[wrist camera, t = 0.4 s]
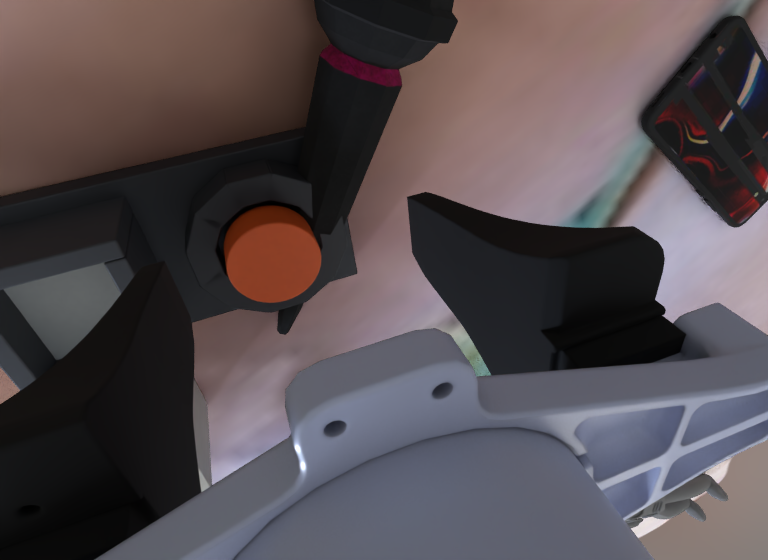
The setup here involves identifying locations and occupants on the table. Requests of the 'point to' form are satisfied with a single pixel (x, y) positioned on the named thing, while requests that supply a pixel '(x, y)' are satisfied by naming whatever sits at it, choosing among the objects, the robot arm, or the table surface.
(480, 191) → the table surface
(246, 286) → the power button
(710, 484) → the alien figure
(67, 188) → the adapter
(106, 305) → the socket
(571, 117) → the table surface
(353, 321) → the table surface
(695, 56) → the smartphone
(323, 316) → the table surface
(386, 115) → the microphone
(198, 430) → the block
